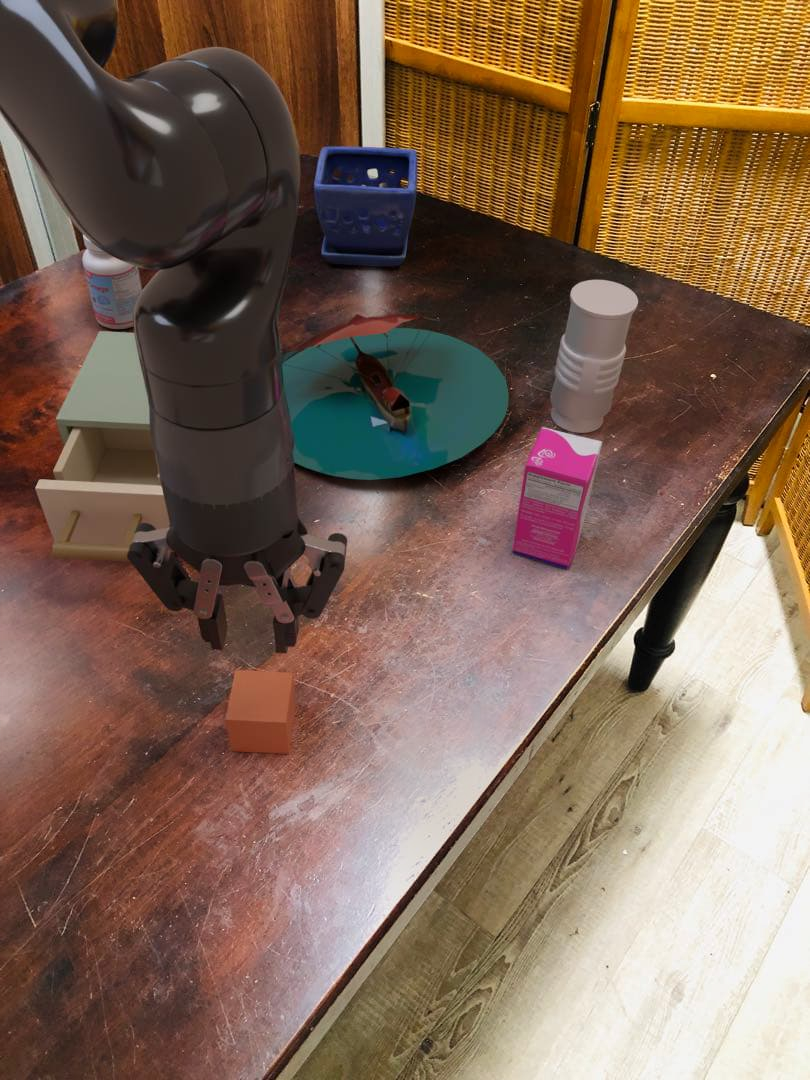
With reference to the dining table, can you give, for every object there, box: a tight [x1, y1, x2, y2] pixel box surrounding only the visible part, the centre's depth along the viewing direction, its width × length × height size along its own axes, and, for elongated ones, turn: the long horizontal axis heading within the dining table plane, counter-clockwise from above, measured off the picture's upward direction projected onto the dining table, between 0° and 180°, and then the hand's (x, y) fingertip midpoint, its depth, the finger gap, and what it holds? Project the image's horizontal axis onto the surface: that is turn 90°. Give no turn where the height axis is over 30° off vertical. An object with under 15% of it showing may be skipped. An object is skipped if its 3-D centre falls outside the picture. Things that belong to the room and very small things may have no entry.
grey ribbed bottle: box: [549, 279, 639, 434], centre depth 93 cm, size 7×7×15 cm
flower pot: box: [313, 146, 418, 267], centre depth 119 cm, size 13×13×12 cm
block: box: [224, 669, 297, 755], centre depth 68 cm, size 4×4×4 cm
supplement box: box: [511, 426, 603, 571], centre depth 81 cm, size 6×6×12 cm
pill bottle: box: [81, 234, 143, 330], centre depth 105 cm, size 6×6×11 cm
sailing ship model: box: [282, 313, 510, 481], centre depth 95 cm, size 28×28×11 cm
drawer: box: [34, 426, 174, 563], centre depth 81 cm, size 19×11×7 cm, turn 178°
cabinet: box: [55, 330, 150, 447], centre depth 89 cm, size 15×13×9 cm
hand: (252, 640), depth 61 cm, fingers open, 4 cm apart
